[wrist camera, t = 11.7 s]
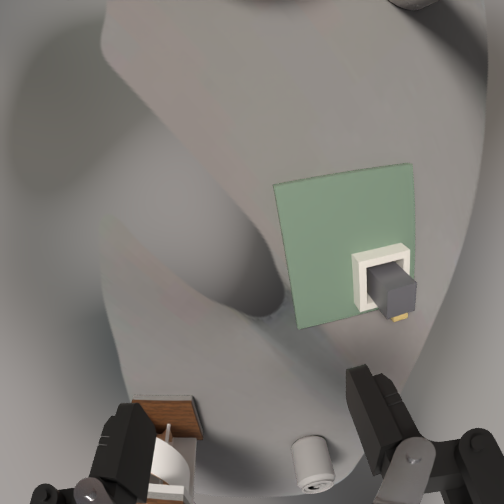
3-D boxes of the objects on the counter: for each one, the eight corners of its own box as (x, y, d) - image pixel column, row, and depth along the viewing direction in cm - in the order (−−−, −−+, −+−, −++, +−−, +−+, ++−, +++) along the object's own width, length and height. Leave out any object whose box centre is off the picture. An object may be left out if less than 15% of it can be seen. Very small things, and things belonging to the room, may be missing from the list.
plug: (365, 265, 39) (387, 291, 33) (391, 258, 39) (416, 282, 32) (366, 295, 41) (386, 324, 34) (391, 288, 41) (414, 315, 34)
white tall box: (203, 431, 52) (199, 598, 20) (151, 430, 52) (129, 588, 20) (192, 395, 48) (179, 595, 16) (133, 394, 48) (94, 577, 15)
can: (283, 446, 56) (290, 493, 45) (308, 429, 54) (319, 478, 43) (307, 453, 58) (316, 497, 47) (332, 437, 56) (345, 482, 45)
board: (272, 184, 36) (277, 190, 32) (407, 162, 35) (422, 167, 32) (296, 324, 43) (301, 340, 40) (408, 295, 43) (420, 307, 40)
